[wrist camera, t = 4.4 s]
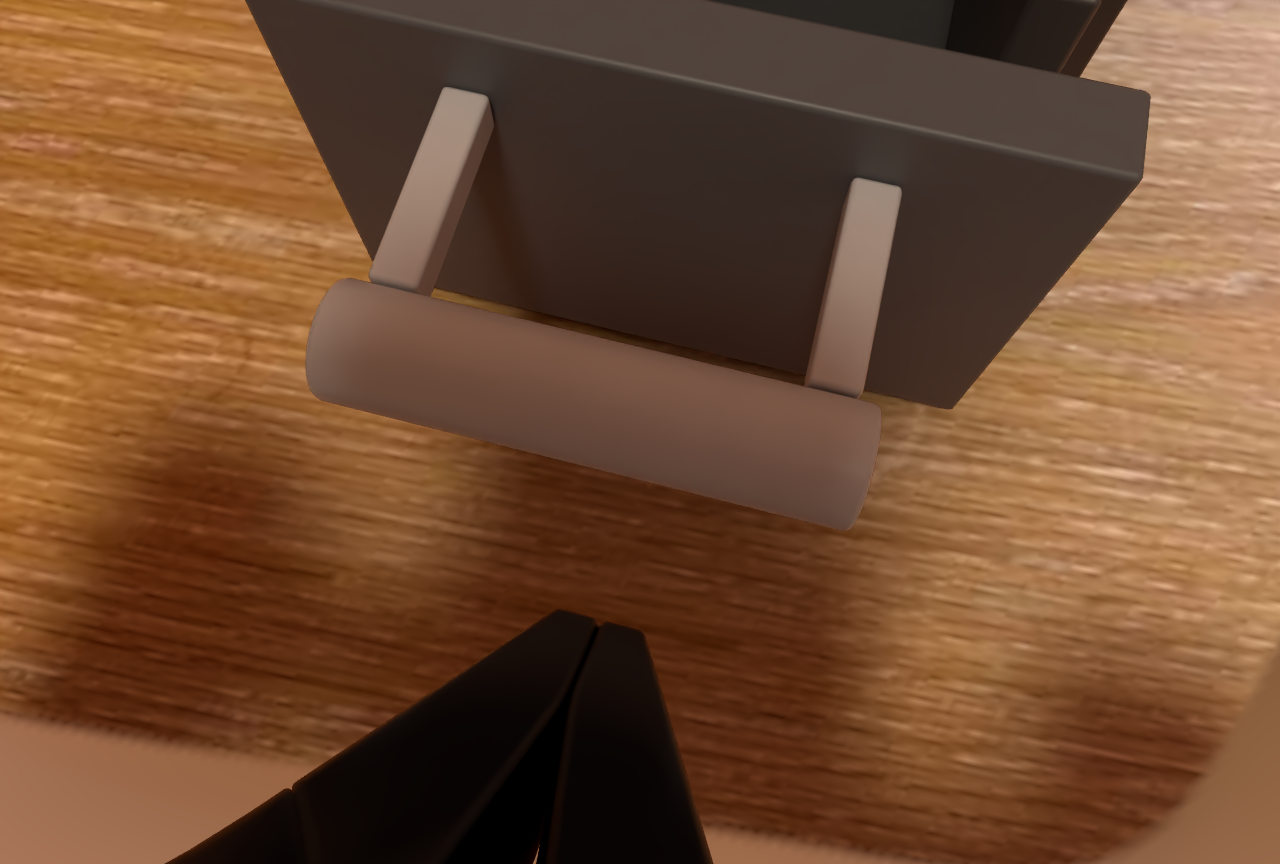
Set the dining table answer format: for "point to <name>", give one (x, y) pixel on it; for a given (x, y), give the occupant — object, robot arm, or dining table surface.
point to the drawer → (697, 217)
